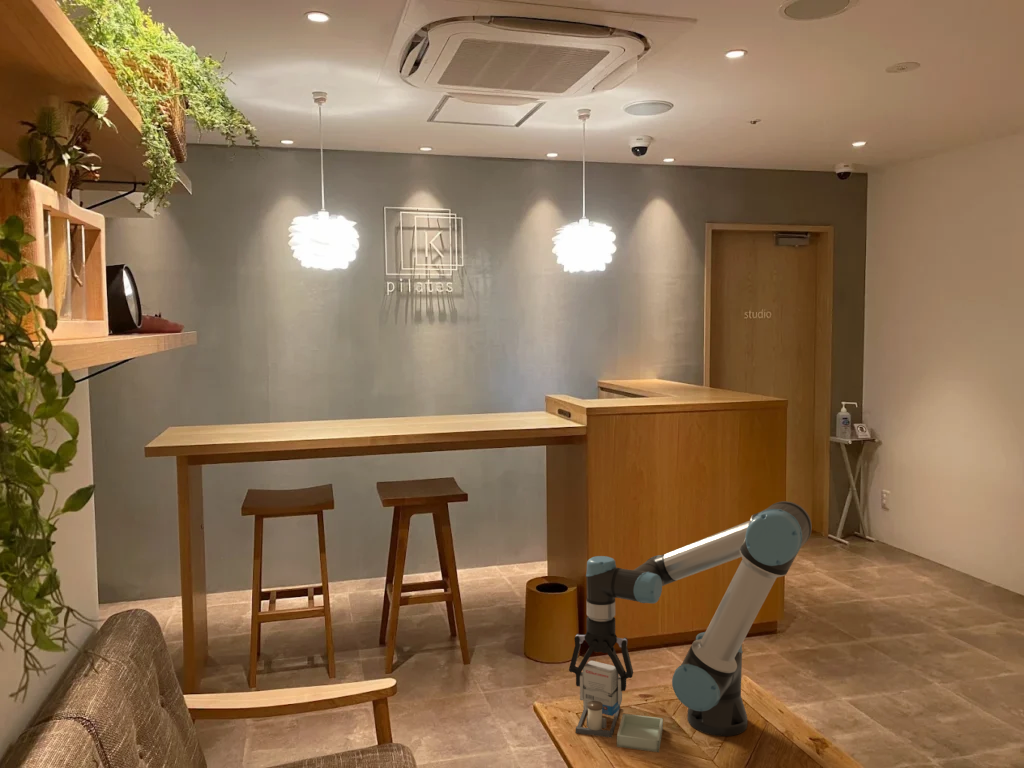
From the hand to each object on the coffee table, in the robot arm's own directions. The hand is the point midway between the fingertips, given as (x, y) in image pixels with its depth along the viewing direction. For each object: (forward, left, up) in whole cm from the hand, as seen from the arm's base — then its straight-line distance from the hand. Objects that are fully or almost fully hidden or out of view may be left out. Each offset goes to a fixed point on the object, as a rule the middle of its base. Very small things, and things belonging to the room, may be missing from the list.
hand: (601, 700), depth 216 cm
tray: (-11, +8, -5) cm, 15 cm away
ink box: (0, 0, -3) cm, 3 cm away
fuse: (0, +8, -5) cm, 9 cm away
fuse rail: (0, +2, -5) cm, 5 cm away
